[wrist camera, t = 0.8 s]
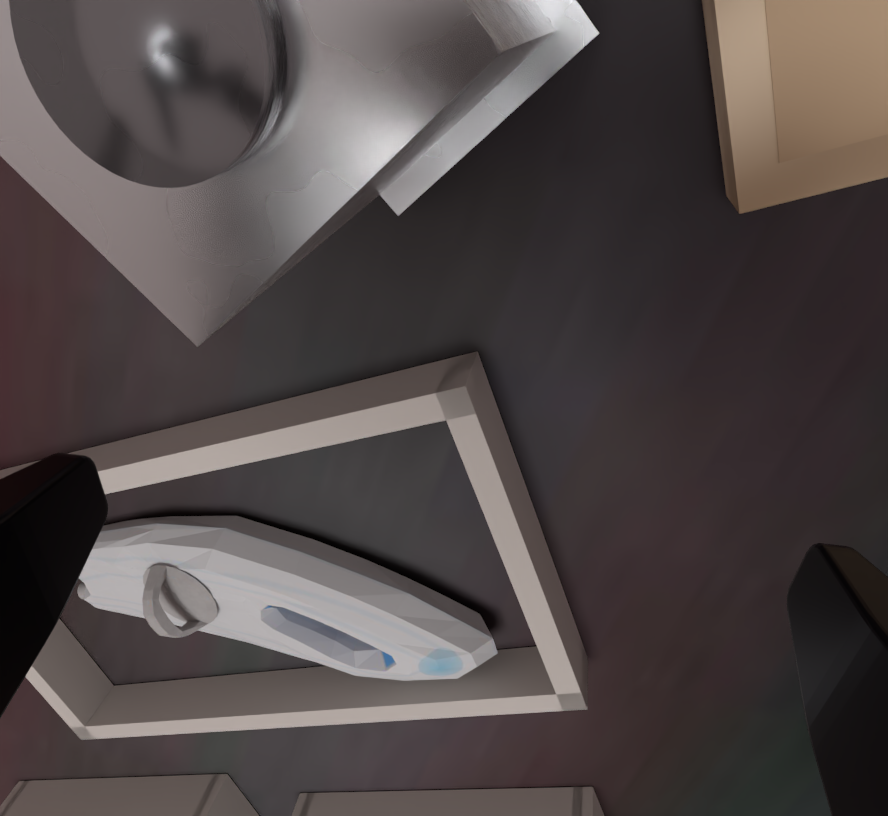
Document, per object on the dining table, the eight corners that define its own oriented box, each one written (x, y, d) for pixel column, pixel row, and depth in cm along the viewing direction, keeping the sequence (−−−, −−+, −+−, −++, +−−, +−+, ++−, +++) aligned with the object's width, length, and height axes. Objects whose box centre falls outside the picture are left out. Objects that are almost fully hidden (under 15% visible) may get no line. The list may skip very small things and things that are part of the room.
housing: (598, 32, 17) (609, 62, 6) (407, 206, 21) (186, 433, 9) (433, -206, 16) (29, -764, 4) (252, 24, 19) (-246, 37, 8)
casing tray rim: (587, 658, 29) (587, 709, 27) (109, 698, 38) (81, 739, 36) (477, 351, 23) (465, 386, 20) (-66, 486, 31) (-113, 520, 29)
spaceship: (511, 548, 27) (497, 636, 23) (498, 655, 31) (485, 746, 27) (1, 467, 30) (-83, 532, 27) (41, 572, 34) (-27, 643, 30)
